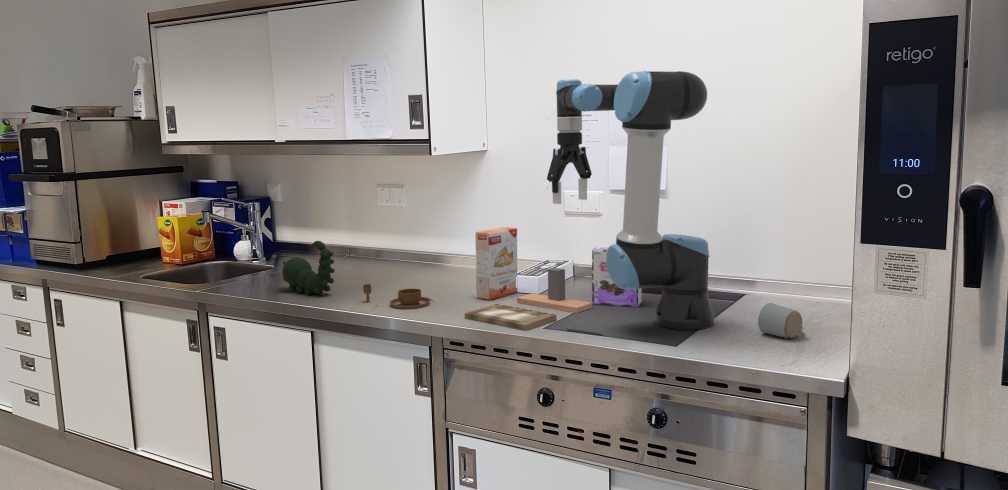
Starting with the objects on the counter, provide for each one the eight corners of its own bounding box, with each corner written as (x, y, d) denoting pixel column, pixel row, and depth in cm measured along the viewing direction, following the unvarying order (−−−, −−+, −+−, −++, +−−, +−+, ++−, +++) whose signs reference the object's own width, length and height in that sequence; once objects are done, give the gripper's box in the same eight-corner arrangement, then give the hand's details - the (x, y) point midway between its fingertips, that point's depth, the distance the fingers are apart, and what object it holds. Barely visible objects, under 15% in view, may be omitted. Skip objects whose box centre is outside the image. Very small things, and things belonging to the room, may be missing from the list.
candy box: (591, 304, 223) (591, 249, 221) (596, 300, 229) (596, 246, 226) (638, 307, 218) (638, 251, 216) (642, 302, 224) (642, 247, 221)
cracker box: (490, 301, 231) (488, 232, 227) (475, 298, 234) (473, 231, 231) (519, 292, 241) (517, 227, 238) (504, 290, 245) (502, 226, 242)
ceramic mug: (786, 342, 181) (787, 310, 180) (756, 335, 187) (757, 304, 186) (811, 335, 187) (812, 304, 186) (781, 328, 194) (783, 298, 192)
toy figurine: (341, 298, 246) (295, 283, 262) (341, 241, 242) (294, 229, 258) (317, 304, 239) (271, 288, 255) (317, 245, 235) (270, 232, 251)
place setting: (395, 315, 219) (394, 295, 218) (360, 304, 234) (359, 285, 233) (444, 305, 230) (444, 285, 229) (408, 294, 245) (407, 276, 244)
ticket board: (556, 320, 206) (556, 314, 206) (526, 330, 197) (526, 324, 196) (495, 308, 221) (495, 303, 220) (464, 318, 211) (464, 312, 211)
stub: (592, 307, 219) (591, 272, 217) (577, 313, 214) (576, 276, 212) (532, 297, 233) (531, 264, 232) (517, 302, 228) (516, 268, 226)
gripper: (582, 130, 242) (583, 197, 245) (534, 132, 223) (535, 204, 227) (602, 130, 237) (602, 198, 241) (555, 132, 219) (555, 206, 222)
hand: (570, 201), depth 234 cm, fingers open, 13 cm apart
